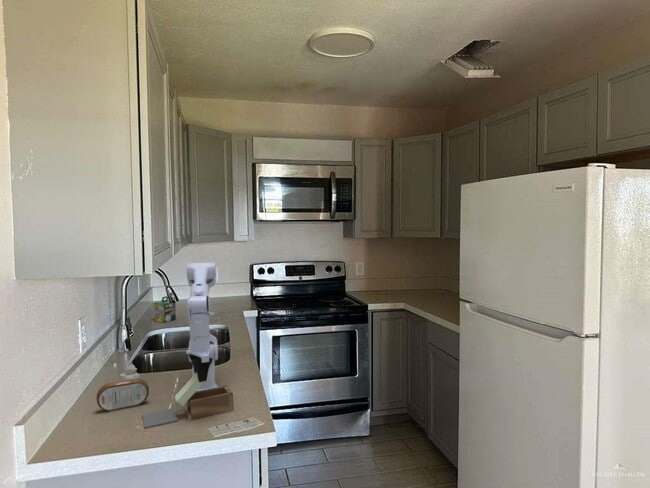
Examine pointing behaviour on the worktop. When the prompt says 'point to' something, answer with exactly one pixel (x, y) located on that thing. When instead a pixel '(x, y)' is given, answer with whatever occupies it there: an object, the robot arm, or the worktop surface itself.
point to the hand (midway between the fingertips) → (201, 378)
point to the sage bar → (188, 390)
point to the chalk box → (164, 311)
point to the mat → (159, 418)
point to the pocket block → (209, 402)
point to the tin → (122, 394)
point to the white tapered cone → (130, 373)
